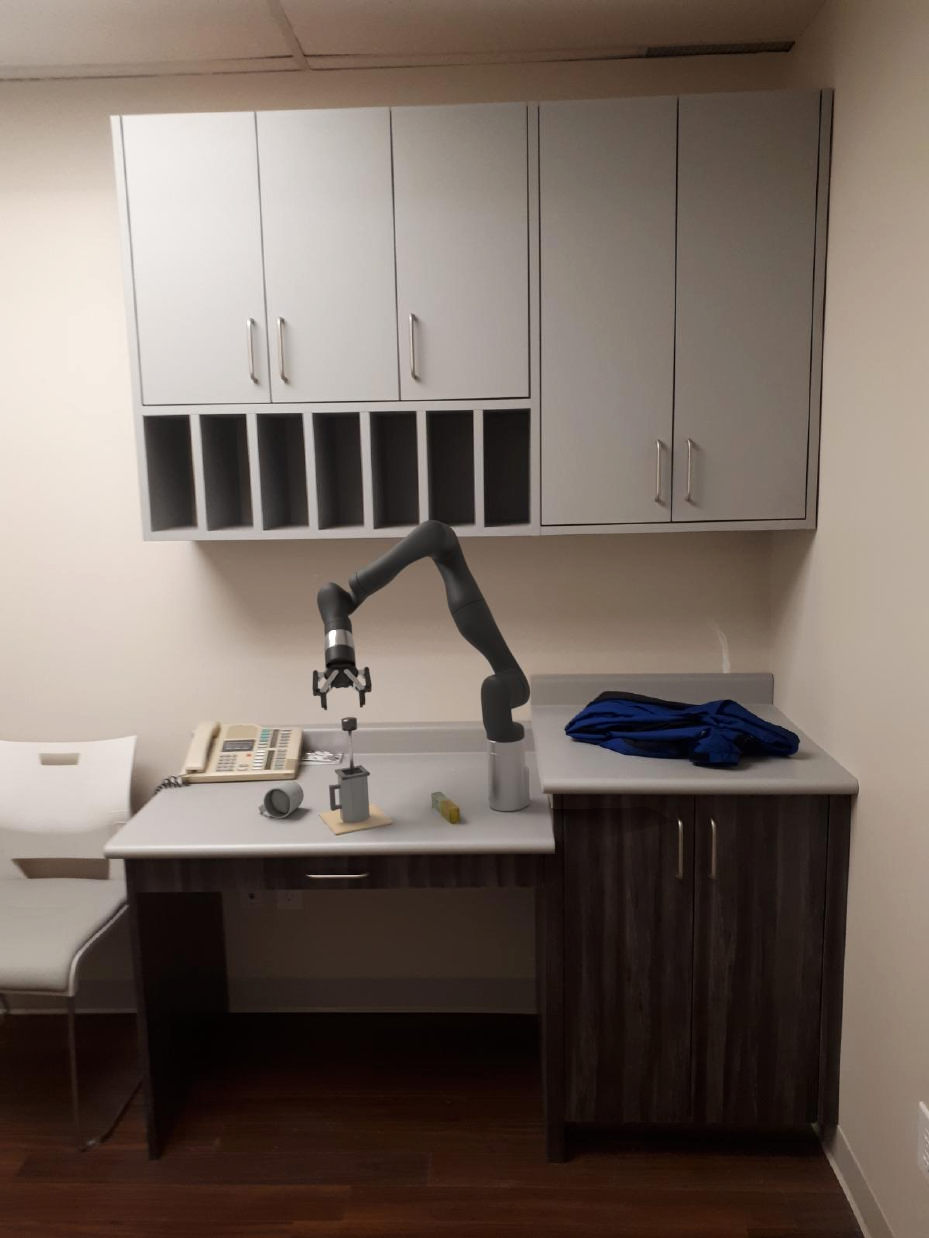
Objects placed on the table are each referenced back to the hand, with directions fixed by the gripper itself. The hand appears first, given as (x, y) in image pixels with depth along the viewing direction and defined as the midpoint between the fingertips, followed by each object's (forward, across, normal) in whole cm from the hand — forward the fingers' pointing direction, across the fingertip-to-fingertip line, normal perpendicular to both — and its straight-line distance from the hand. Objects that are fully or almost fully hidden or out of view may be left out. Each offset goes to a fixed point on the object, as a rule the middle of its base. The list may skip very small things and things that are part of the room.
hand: (343, 707), depth 216 cm
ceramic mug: (+15, +17, -23) cm, 32 cm away
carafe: (+22, -1, -16) cm, 27 cm away
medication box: (+24, -23, -14) cm, 36 cm away
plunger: (+14, -1, -8) cm, 16 cm away
